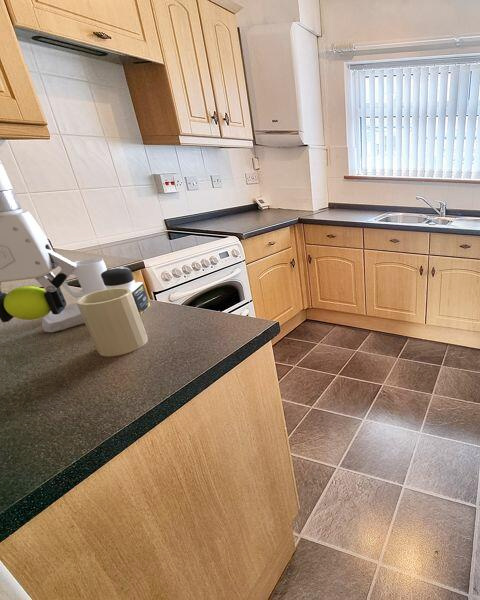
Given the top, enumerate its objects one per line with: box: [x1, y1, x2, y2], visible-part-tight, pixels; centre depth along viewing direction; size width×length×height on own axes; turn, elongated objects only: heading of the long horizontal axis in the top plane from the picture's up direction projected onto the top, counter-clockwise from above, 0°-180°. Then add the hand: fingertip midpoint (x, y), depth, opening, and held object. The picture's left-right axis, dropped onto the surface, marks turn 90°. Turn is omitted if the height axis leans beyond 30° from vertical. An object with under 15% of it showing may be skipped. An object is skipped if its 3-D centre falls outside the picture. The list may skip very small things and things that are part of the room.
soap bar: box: [41, 302, 85, 333], centre depth 83 cm, size 10×6×6 cm, turn 144°
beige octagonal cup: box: [75, 288, 149, 357], centre depth 72 cm, size 9×9×12 cm
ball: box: [4, 285, 51, 321], centre depth 56 cm, size 6×6×6 cm
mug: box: [61, 257, 108, 299], centre depth 93 cm, size 10×7×12 cm, turn 131°
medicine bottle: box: [101, 267, 151, 316], centre depth 87 cm, size 7×7×12 cm
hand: (35, 313), depth 56 cm, fingers closed on ball, 5 cm apart
